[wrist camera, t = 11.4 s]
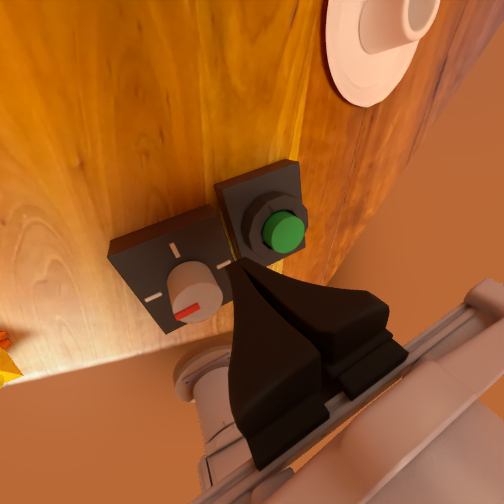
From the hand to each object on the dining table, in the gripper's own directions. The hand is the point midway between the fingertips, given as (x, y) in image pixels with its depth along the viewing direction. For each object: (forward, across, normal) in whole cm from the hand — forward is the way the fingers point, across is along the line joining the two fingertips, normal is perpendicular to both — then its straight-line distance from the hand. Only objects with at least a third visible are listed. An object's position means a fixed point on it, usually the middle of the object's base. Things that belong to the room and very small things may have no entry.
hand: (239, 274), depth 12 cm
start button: (+7, -6, +3) cm, 10 cm away
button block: (+10, -6, +3) cm, 13 cm away
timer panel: (+10, +3, +4) cm, 12 cm away
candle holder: (+11, -21, -11) cm, 26 cm away
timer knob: (+7, +3, +4) cm, 9 cm away
